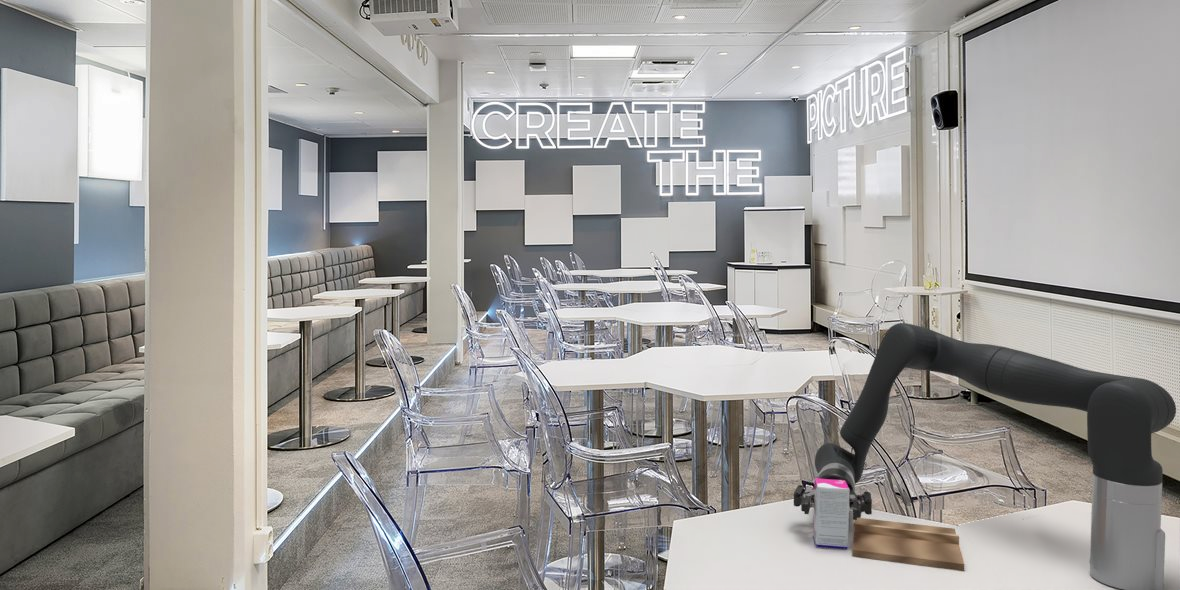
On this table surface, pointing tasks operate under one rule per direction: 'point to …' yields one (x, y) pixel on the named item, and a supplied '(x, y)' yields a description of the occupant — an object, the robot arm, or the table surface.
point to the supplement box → (831, 514)
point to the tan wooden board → (907, 543)
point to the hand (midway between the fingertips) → (830, 511)
